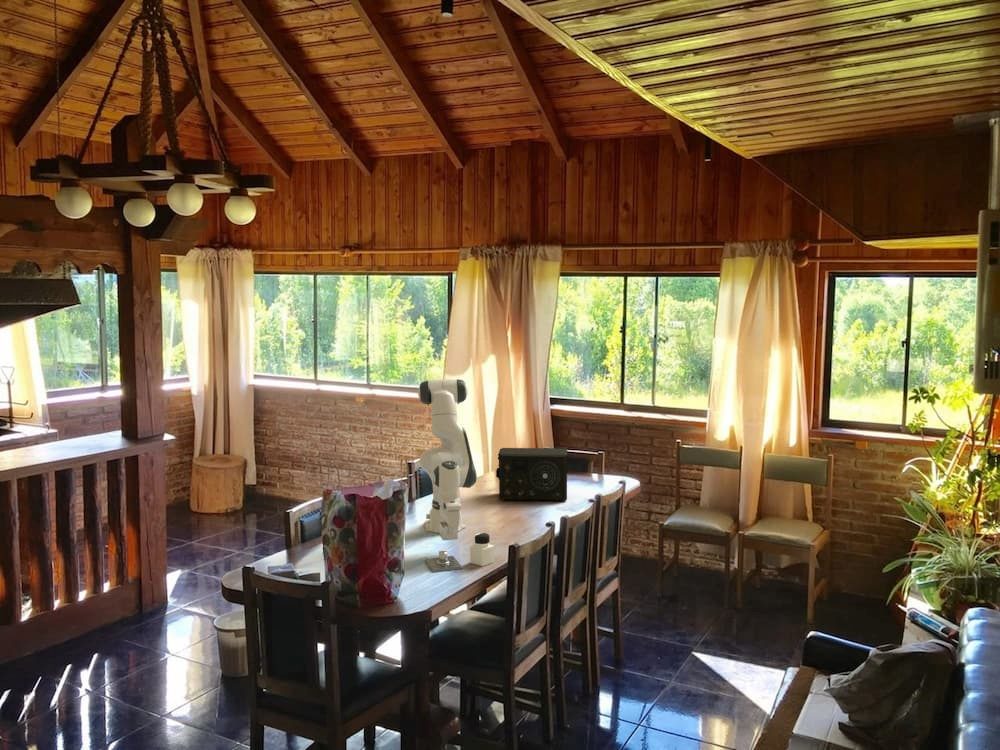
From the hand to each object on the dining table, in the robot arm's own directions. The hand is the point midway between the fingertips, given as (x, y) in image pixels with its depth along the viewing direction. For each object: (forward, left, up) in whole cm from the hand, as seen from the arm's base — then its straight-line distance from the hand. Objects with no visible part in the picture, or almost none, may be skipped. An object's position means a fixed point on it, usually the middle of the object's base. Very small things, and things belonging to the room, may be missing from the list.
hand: (448, 532), depth 367 cm
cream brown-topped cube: (0, 0, -2) cm, 2 cm away
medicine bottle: (+15, +10, -10) cm, 21 cm away
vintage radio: (-76, +64, -10) cm, 100 cm away
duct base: (+13, -6, -10) cm, 17 cm away
